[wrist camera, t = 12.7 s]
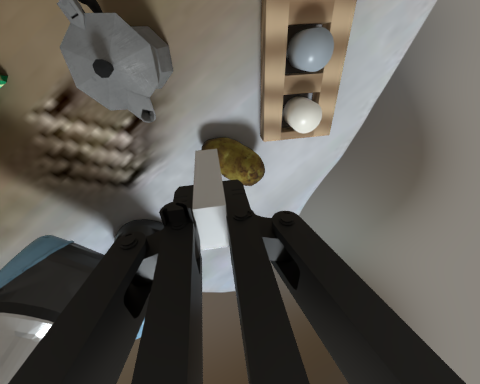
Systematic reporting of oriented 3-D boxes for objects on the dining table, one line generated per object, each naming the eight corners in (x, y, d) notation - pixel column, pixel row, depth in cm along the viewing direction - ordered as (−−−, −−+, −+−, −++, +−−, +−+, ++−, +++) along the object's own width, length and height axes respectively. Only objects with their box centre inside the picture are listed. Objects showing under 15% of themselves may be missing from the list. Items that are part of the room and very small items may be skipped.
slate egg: (316, 68, 38) (329, 70, 34) (285, 70, 37) (296, 73, 33) (321, 28, 34) (337, 26, 30) (288, 30, 34) (300, 28, 30)
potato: (223, 117, 42) (227, 131, 35) (264, 157, 48) (274, 174, 41) (196, 147, 44) (195, 164, 38) (239, 181, 50) (244, 200, 44)
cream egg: (308, 124, 43) (319, 131, 39) (282, 126, 43) (290, 134, 39) (312, 94, 40) (324, 100, 36) (284, 96, 40) (293, 102, 36)
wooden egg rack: (322, 130, 46) (329, 135, 44) (260, 136, 45) (263, 141, 42) (361, -84, 29) (376, -97, 26) (262, -84, 28) (268, -97, 25)
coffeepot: (191, 86, 38) (183, 111, 23) (146, 110, 39) (112, 148, 24) (131, -26, 29) (57, -101, 14) (76, 9, 30) (-45, -27, 15)
